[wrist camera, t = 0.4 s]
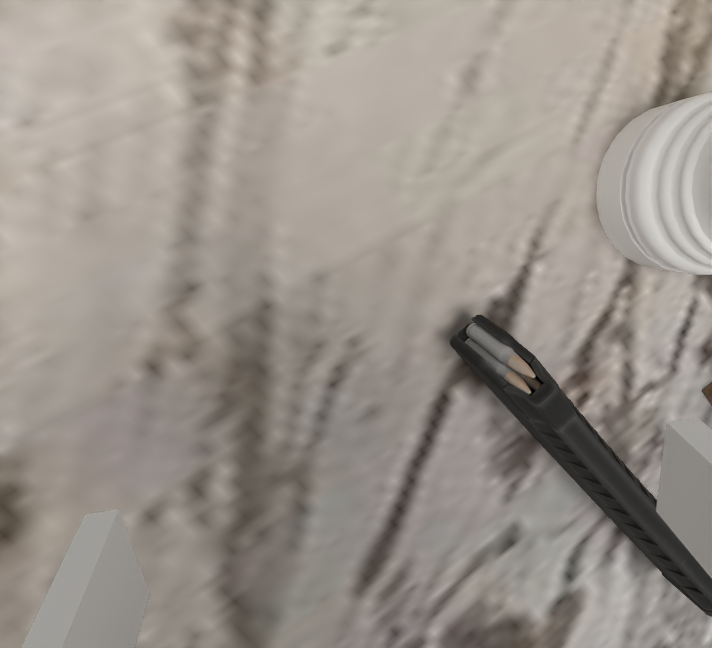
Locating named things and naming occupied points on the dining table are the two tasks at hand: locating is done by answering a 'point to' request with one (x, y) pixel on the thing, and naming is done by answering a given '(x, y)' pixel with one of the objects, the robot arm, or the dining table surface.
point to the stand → (708, 392)
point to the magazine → (579, 451)
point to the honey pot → (661, 188)
